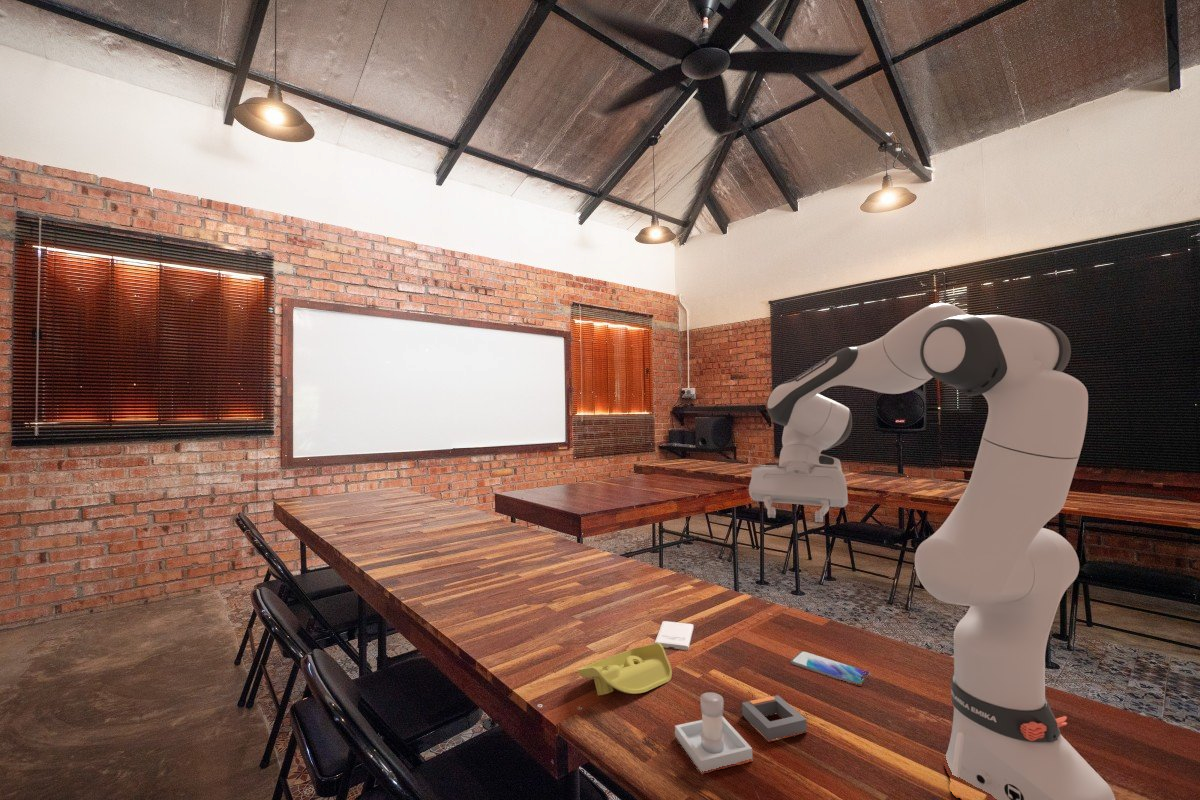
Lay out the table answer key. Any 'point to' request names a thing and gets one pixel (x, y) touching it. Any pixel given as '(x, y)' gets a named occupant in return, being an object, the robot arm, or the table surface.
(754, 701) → the block
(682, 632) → the external hard drive
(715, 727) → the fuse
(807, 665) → the smartphone
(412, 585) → the table surface
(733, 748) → the tray
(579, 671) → the plastic component
